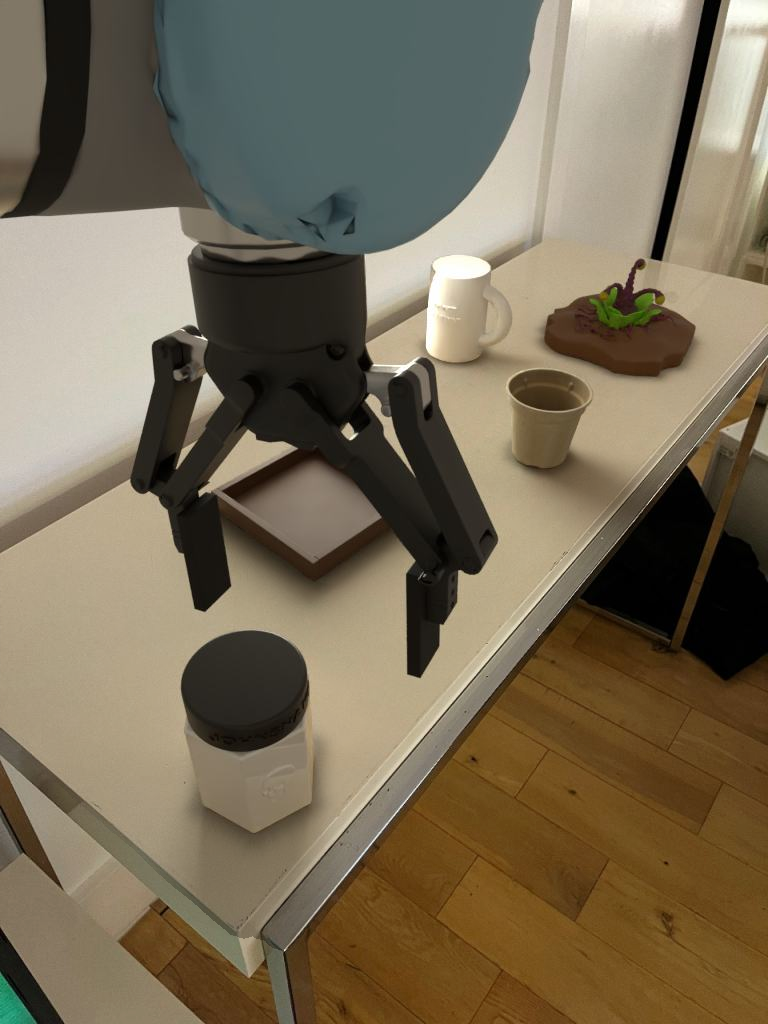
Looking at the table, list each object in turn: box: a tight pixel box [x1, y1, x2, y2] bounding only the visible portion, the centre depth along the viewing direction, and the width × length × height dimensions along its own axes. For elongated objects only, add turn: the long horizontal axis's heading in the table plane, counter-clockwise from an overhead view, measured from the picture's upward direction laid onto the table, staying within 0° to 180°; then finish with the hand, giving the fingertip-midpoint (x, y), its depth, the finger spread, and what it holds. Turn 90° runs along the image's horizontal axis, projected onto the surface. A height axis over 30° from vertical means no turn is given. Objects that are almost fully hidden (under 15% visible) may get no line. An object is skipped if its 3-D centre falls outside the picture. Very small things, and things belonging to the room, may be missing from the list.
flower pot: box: [505, 367, 594, 469], centre depth 87 cm, size 9×9×9 cm
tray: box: [210, 445, 391, 582], centre depth 81 cm, size 15×16×2 cm
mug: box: [425, 254, 513, 364], centre depth 104 cm, size 8×12×12 cm
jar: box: [180, 628, 315, 834], centre depth 54 cm, size 9×8×12 cm
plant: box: [543, 258, 697, 377], centre depth 109 cm, size 20×20×11 cm
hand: (312, 627), depth 44 cm, fingers open, 13 cm apart
